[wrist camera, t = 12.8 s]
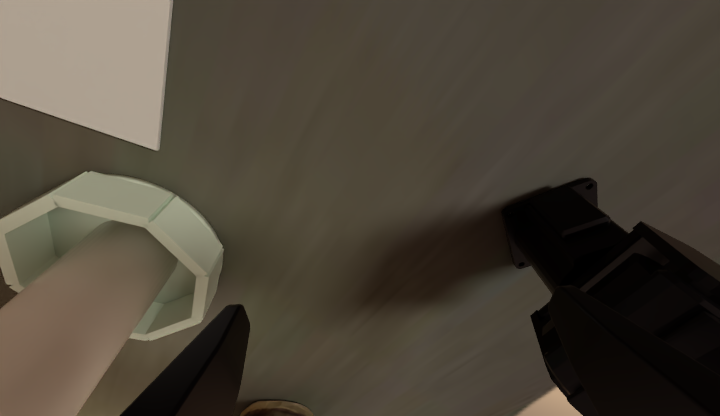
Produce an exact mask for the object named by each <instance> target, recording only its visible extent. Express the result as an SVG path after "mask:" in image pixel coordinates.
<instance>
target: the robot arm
mask: <svg viewBox="0 0 720 416" xmlns="http://www.w3.org/2000/svg"><path fill="white" fill-rule="evenodd" d="M588 184H589V185H588ZM587 185H588V186H587ZM510 212H511V214H509V215H508V213H510ZM502 217H503V222H504V226H505V230H506V234H507V238H508V243H509V247H510V251H511V255H512V259H513V263H514V265H515V266H516V268H518V269H521V268H525V267H528V266H532V267H533V269H534V270H535V271H536V273H537V274H538V275H539V277H540V278H541V280H542V281H543V282H544V284H545V285H546V286H547V288H548V289H549V291H550V292H551V293H552V297H551V299H550V301H549V302H548V303H547V304H546V305H545V306H543V307H542V308H541V309H540V310H539V311H537V310H536V311H535V312H534V313H533V314H532V315H531V319H532V323H533V326H534V329H535V332H536V336H537V339H538V342H539V345H540V349H541V352H542V355H543V358H544V362H545V365H546V367H547V370H548V372H549V374H550V377H551V379H552V381H553V382H554V383H555V384H556V385H557V387H558V388H559V389H560V391H561V392H562V393H563V394H564V395H565V396H566V397H567V400H568V402H569V403H570V404H571V405H572V406H573V407H574V408H575V409H576V410H578V411H579V412H580V413H581V414H582V415H583V416H720V265H719V264H717V263H716V262H714V261H712V260H711V259H709V258H708V257H706V256H705V255H703V254H702V253H700V252H699V251H697V250H695V249H694V248H692V247H690V246H688V245H686V244H685V243H683V242H681V241H679V240H677V239H675V238H673V237H671V236H669V235H667V234H665V233H663V232H661V231H659V230H657V229H655V228H653V227H651V226H650V225H648V224H646V223H644V222H642V221H640V222H639V223H638V224H637V225H636V226H635V227H633V229H634V230H633V231H632V232H630V233H628V232H626V231H625V230H624V229H623V228H621V227H620V226H619V225H617V224H616V223H615V222H614V221H612V220H611V219H610V217H609V216H608V215H607V214H605V213H604V212H603V211H601V210H600V209H599V208H598V203H597V182H596V181H594V180H593V179H591V178H585V179H582V180H579V181H577V182H574V183H571V184H568V185H566V186H563V187H560V188H557V189H555V190H552V191H549V192H546V193H544V194H541V195H538V196H535V197H533V198H530V199H527V200H525V201H522V202H519V203H516V204H514V205H511V206H508V207H506V208H504V209H503V211H502ZM249 333H250V322H249V319H248V317H247V314H246V311H245V309H244V306H243V305H241V304H236V305H228V306H226V307H225V308H224V309H223V310H222V311H221V312H220V313H219V314H218V315H217V316H216V317H215V318H214V319H213V320H212V321H211V322H210V323H209V324H208V325H207V326H206V327H205V328H204V329H203V330H202V331H201V332H200V334H199V335H198V336H197V337H196V338H195V339H194V340H193V341H192V342H191V343H190V344H189V345H188V346H187V347H186V348H185V349H184V350H183V351H182V352H181V353H180V354H179V355H178V356H177V357H176V358H175V359H174V360H173V361H172V362H171V363H170V364H169V365H168V366H167V367H166V368H165V369H164V370H163V371H162V373H161V374H160V375H159V376H158V377H157V378H156V379H155V380H154V381H153V382H152V383H151V384H150V385H149V386H148V387H147V388H146V389H145V390H144V391H143V392H142V393H141V394H140V395H139V396H138V397H137V398H136V399H135V400H134V401H133V402H132V403H131V404H130V405H129V406H128V407H127V408H126V409H125V411H124V412H123V413H122V414H121V415H120V416H232V415H233V411H234V407H235V404H236V400H237V397H238V393H239V389H240V385H241V380H242V374H243V368H244V362H245V356H246V350H247V345H248V339H249Z"/></svg>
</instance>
